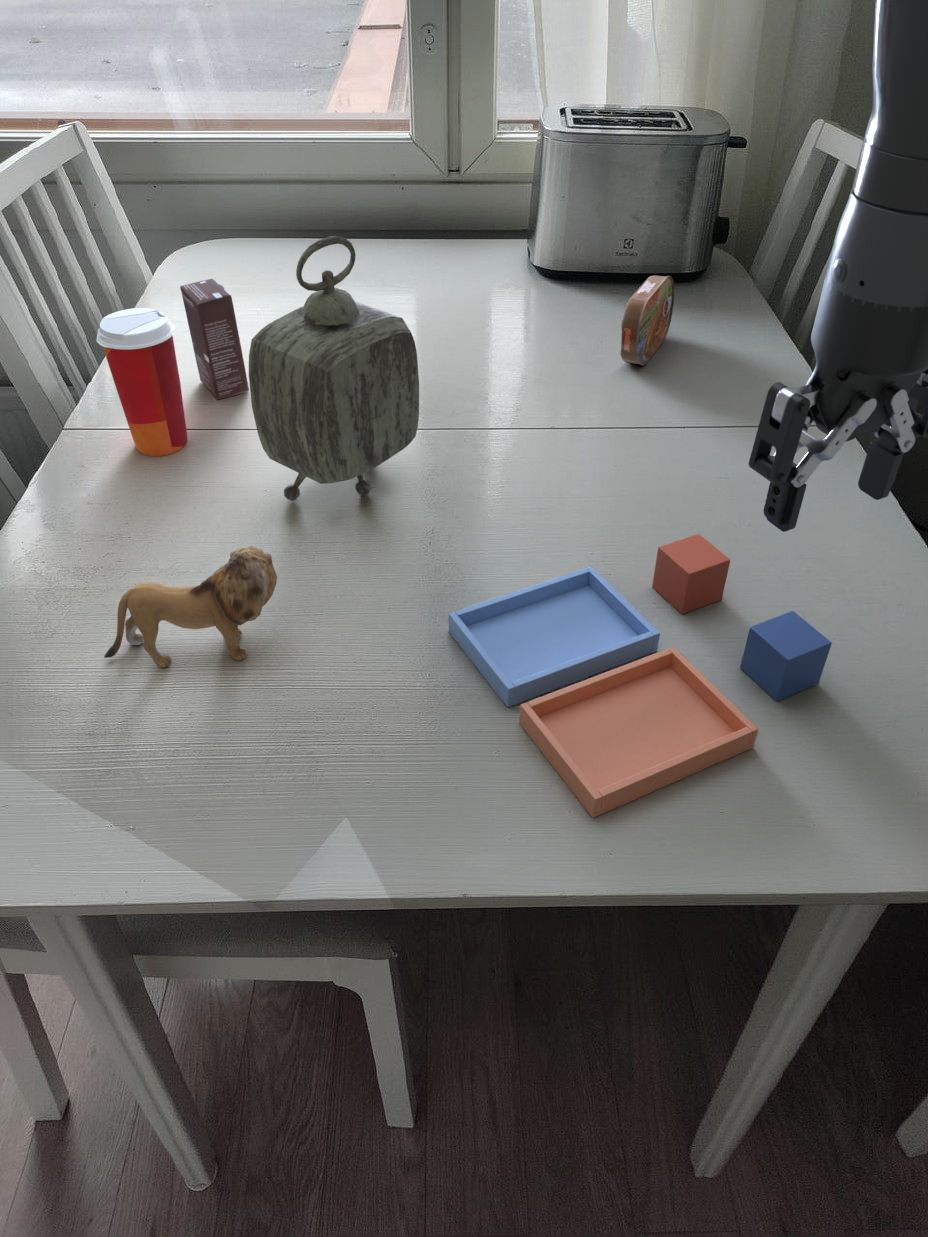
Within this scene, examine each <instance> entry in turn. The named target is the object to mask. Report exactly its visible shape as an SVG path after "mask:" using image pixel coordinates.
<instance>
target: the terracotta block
mask: <svg viewBox="0 0 928 1237" xmlns="http://www.w3.org/2000/svg"><path fill="white" fill-rule="evenodd" d="M730 564H731V558H729V557H728V556H727V555H726V554H725V553H724V552H722V551H721V550H719V549H718V548H717V547H715V545H713V544H712V543H711V542H709V541H708V540H707V539H706V538H705V537H703V535H701V534H700V533H695V534H693V535H690V536H687V537H684V538H681V539H678V540H675V541H672V542H669V543H666V544H663V545H660V546H658V547H657V552H656V559H655V565H654V572H653V578H652V584H651V587H652V588H653V589H654V590H655V591H656V592H657V593H658V594H659V595H661V597H663V598H664V600H666V601H667V602H668V603H669V604H670V605H672V606H673V608H675V609H676V610H677V611H678V612H679V613H680V614H681V615H684V614H686V613H689V612H691V611H694V610H697V609H700V608H703V607H705V606H708V605H711V604H713V603H716V602H719V601H721V600H723V595H724V592H725V586H726V582H727V577H728V573H729V569H730Z"/></svg>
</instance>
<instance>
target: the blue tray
mask: <svg viewBox="0 0 928 1237" xmlns="http://www.w3.org/2000/svg"><path fill="white" fill-rule="evenodd" d="M448 632H449V634H450V635H451V636H452V638H453V639H454V640H455V642H456V643H457V644H458V645H459V647H460V648H461V649H462V651H463V652H464V653H465V654H466V656H467V657H468V658H469V660H470V661H471V663H473V665H474V666H475V667H476V669H477V670H478V671H479V673H480V674H481V676H483V678H484V679H485V680H486V682H487V683H488V685H490V687H491V688H492V690H493V691H494V692H495V693H496V694H497V696H498V697H499V698H500V700H501V701H502V702H503V704H504V706H506V707H507V708H511V707H513V706H516V705H518V704H522V703H525V702H526V701H530V700H532V699H535V698H538V697H540V696H542V695H546V694H548V693H549V692H550V693H551V692H552V691H553V692H554V691H556V690H559V689H562V688H564V687H567V686H568V685H572V684H575V683H576V682H580V681H583V680H584V679H588V678H589V677H590V678H591V677H593V676H596V675H599V674H601V673H604V672H605V671H606V672H607V671H609V670H612V669H614V668H617V667H620V666H622V665H625V664H628V663H630V662H633V661H636V660H638V659H641V658H644V657H646V656H649V655H651V654H654V653H657V652H658V648H659V641H660V635H661V633H660V631H659V630H657V629H656V628H655V627H654V626H653V624H651V623H650V622H649V621H648V620H647V619H646V618H645V617H644V616H643V615H642V614H641V613H640V612H639V611H638V610H637V609H636V608H635V607H634V606H633V605H632V604H631V603H630V602H629V601H628V600H627V599H625V598H624V597H623V596H622V594H621V593H620V592H619V591H618V590H616V589H615V588H614V587H613V585H611V584H610V583H609V581H608V580H606V579H605V578H604V577H603V576H602V575H601V574H600V573H599V572H598V571H597V570H596V569H595V568H594V567H593V566H588V567H584V568H582V569H578V570H575V571H573V572H570V573H567V574H564V575H560V576H557V577H555V578H552V579H549V580H546V581H543V582H540V583H536V584H533V585H530V586H528V587H527V586H526V587H525V588H522V589H518V590H515V591H512V592H509V593H507V594H504V595H501V596H498V597H494V598H491V599H488V600H485V601H482V602H479V603H476V604H473V605H471V606H467V607H464V608H461V609H458V610H455V611H452V612H449V613H448Z"/></svg>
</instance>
